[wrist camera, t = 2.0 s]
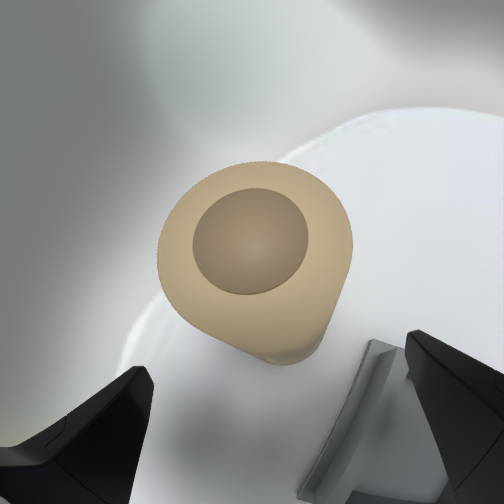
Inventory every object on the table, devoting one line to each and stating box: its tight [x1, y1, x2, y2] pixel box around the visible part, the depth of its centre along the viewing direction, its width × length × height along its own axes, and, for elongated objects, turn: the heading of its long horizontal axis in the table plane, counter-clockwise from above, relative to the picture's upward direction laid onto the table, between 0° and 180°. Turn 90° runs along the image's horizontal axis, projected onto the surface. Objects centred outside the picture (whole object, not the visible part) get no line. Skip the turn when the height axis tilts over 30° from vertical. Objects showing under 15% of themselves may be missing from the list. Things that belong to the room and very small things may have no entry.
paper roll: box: [157, 162, 353, 365], centre depth 14 cm, size 6×6×13 cm
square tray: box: [297, 339, 456, 504], centre depth 12 cm, size 12×12×5 cm
